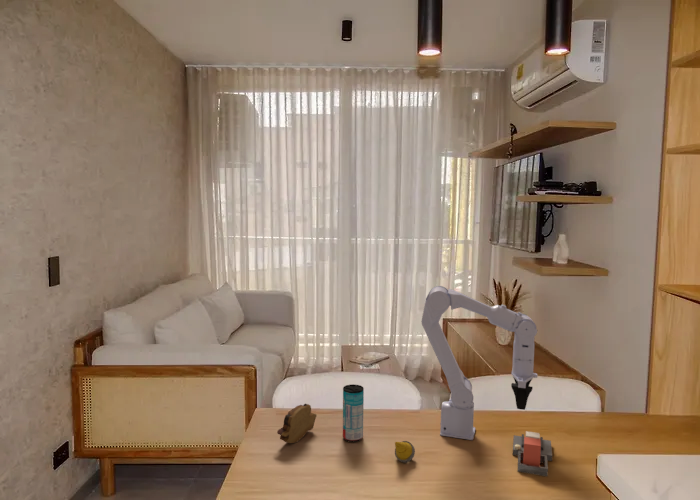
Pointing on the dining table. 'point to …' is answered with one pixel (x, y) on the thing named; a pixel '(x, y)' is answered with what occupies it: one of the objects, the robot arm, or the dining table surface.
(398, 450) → the yellow flanged cylinder
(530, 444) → the peg
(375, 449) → the dining table surface
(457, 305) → the robot arm
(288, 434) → the wooden carving
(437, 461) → the dining table surface
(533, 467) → the frame
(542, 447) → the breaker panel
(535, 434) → the switch
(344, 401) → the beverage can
